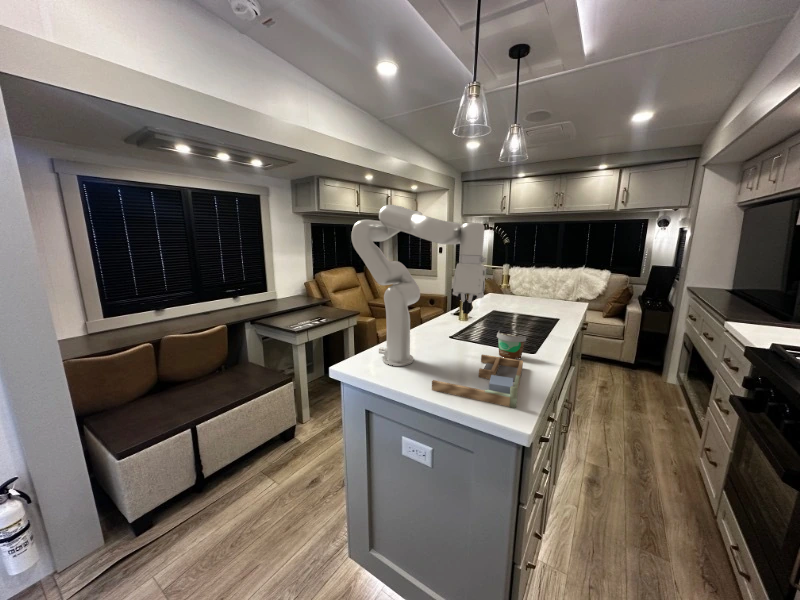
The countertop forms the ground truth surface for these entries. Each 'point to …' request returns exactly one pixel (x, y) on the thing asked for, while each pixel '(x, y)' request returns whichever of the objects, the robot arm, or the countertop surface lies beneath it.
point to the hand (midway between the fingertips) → (466, 313)
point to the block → (500, 384)
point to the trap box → (506, 369)
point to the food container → (510, 345)
